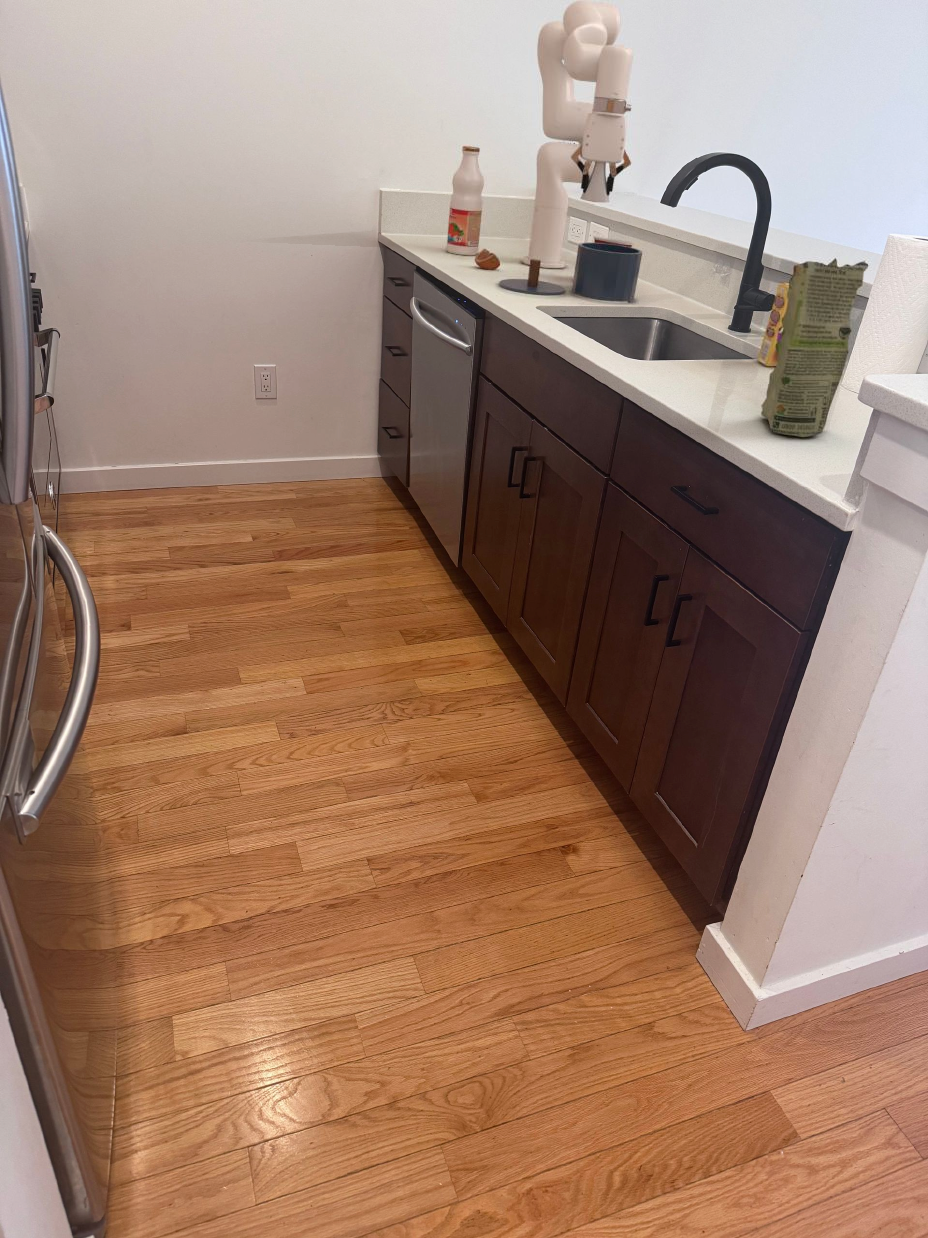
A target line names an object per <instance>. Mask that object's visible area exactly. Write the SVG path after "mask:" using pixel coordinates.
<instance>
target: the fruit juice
mask: <svg viewBox="0 0 928 1238" xmlns="http://www.w3.org/2000/svg"><path fill="white" fill-rule="evenodd" d="M480 149H481V148H480V147H477V146H470V145H463V146H462V149H461V153H462V159H461V162H460V165H459V167H458V169H457V170H456V171H455V172H454V174H453V175H452V181H451V182H452V183H451V185H452V194H451V197H450V201H449V213H448V214H449V215H448V216H449V217H448V224H447V226H448V227H447V240H446V252H448V253H450V254H453V255H460V256H461V255H462V256H477V255H478V254H479V247H480V246H479V245H480V236H481V235H480V234H481V226H482V225H481V223H482V215H483V197H482V192H483V190H484V186H485V179H484V176H483V174H482V172H481V170H480V166H479V155H480V151H481V150H480Z"/></svg>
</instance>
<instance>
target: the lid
mask: <svg viewBox="0 0 928 1238" xmlns="http://www.w3.org/2000/svg"><path fill="white" fill-rule="evenodd" d="M540 264H541V260H538V259H530V265H529V266H528V267H529V268H528V276H527V278H506V279H502V280H500V281H499V282H498V286H499V287H501V288H502V289H505V290H508V291H512V292H516V293H521V294H526V295H527V294H528V295H537V296H559V295H563V294H565V293H566V288H565V286H562V285H560V284H556V283H553V282H549V281H543V280H540V279H539V277H540V271H541V267H540Z"/></svg>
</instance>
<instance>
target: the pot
mask: <svg viewBox="0 0 928 1238" xmlns="http://www.w3.org/2000/svg"><path fill="white" fill-rule="evenodd" d="M576 253H577V254H576V260H575V266H574V272H573V273H574V274H573V280H572V286H571V293H572V294H574V295H577V296H579V297H583V298H588V299H592V300H597V301H603V302H620V303H621V302H623V303H625V302H627V303H628V304H631V303H633V302H634V300H635V295H636V289H637V286H638V285H637V284H638V280H639V279H638V278H639V273H640V267H641V262H642V257H643V250H641V249H638V248H635V247H627V246H621V245H615V244H606V243H595V242H590V241H589V242H580V243H579V244H578V247H577V252H576Z"/></svg>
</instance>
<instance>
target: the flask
mask: <svg viewBox="0 0 928 1238" xmlns="http://www.w3.org/2000/svg"><path fill="white" fill-rule="evenodd" d="M606 165H607V163H604V162H595V165H594V169H593V172H592V174H591V177H590V179H589V182H588V188H587V190H586V192H585V193H583V192H582V194H581V196H580V200H583V201H586V202H591V203H610V197H609V196H610V194H609V195H607V175H606V174H607V173H606V172H607V171H606V170H607V168H606V167H607V166H606Z"/></svg>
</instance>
